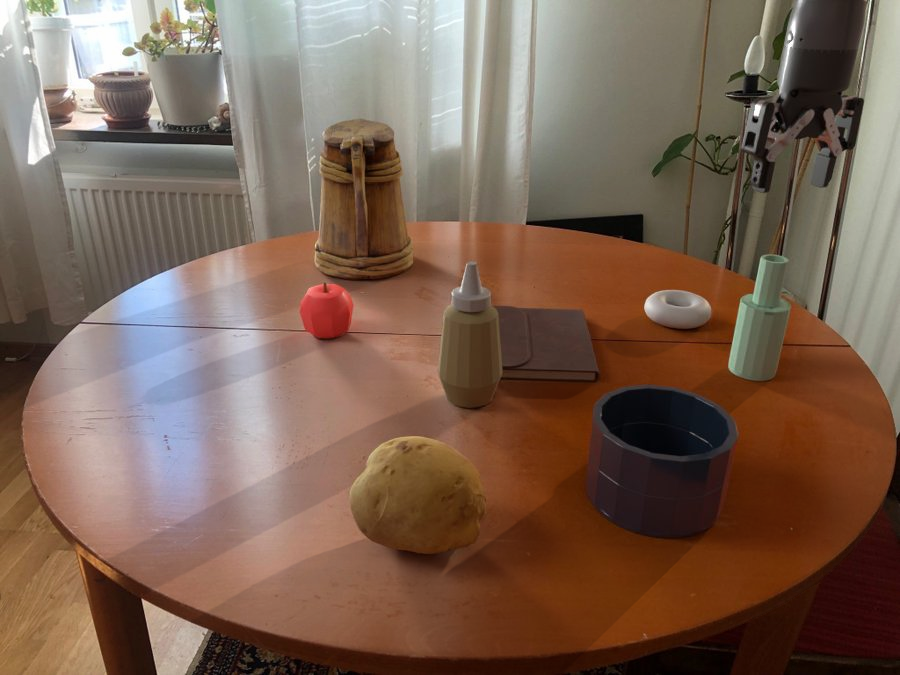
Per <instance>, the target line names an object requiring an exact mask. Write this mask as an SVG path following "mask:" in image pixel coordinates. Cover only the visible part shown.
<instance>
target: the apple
mask: <svg viewBox="0 0 900 675" xmlns="http://www.w3.org/2000/svg"><path fill="white" fill-rule="evenodd" d="M353 311H354V302H353V298H352V296H351V294H350V293H349V292H348V291H347V289H346V288H344V287H342V286H340V285H338V284H334V283H333V284H332V283H331V284H330V283H327V282H326V281H323V283H322V284H318V285H314V286H311V287H309V288H308V289H307V292H306V293H305V294H304V296H303V298H302V300H301V302H300V306H299V315H300V318H301V322H302V325H303V327H304V330H305V331H306V332H308V333H309V334H311V335H313V336H315V337H316V338H318V339H319V340H320V338H324V339H335V338H338V337H341V335H342V336H343V335H345V334H347V332H348V331H349V329H350V327H351V324H352V319H353V313H354V312H353Z"/></svg>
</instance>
